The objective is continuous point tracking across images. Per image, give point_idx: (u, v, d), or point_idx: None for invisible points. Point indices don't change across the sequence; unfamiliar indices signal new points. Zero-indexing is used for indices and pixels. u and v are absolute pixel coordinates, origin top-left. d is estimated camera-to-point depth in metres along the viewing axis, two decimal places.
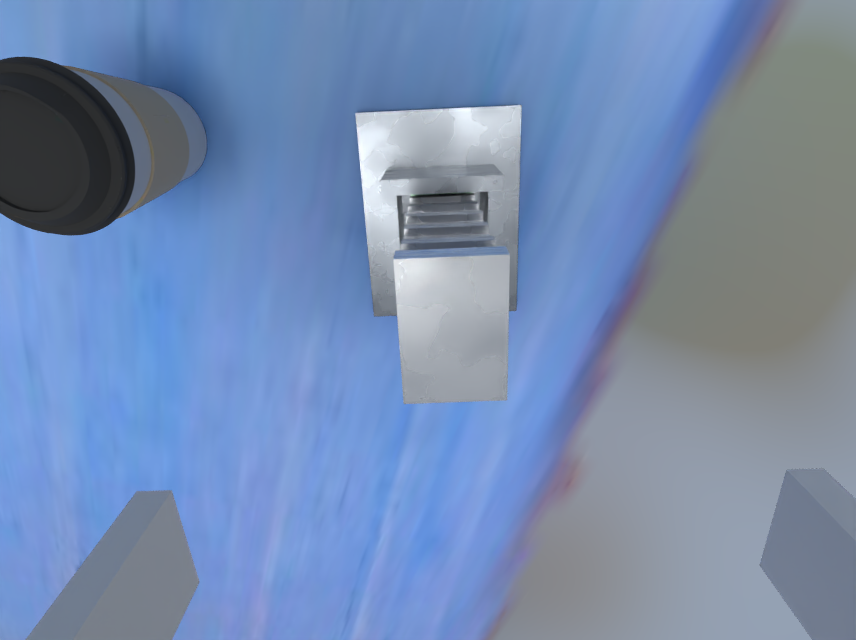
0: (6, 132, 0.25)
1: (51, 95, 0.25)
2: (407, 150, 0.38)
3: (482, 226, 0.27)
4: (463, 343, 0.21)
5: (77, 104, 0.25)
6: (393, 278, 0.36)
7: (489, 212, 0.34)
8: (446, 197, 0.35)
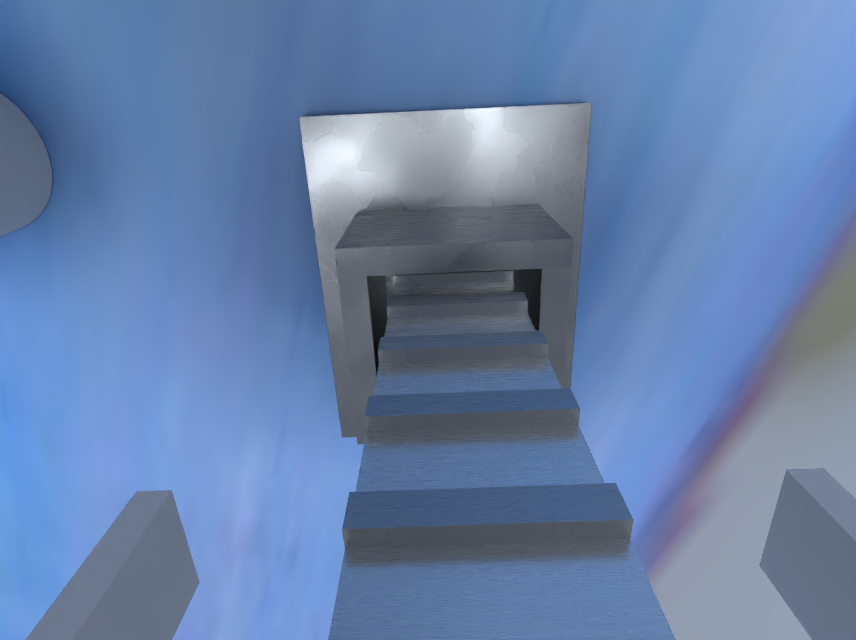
0: None
1: None
2: (391, 181, 0.22)
3: (563, 410, 0.11)
4: None
5: None
6: (364, 416, 0.20)
7: (542, 306, 0.18)
8: (461, 274, 0.19)
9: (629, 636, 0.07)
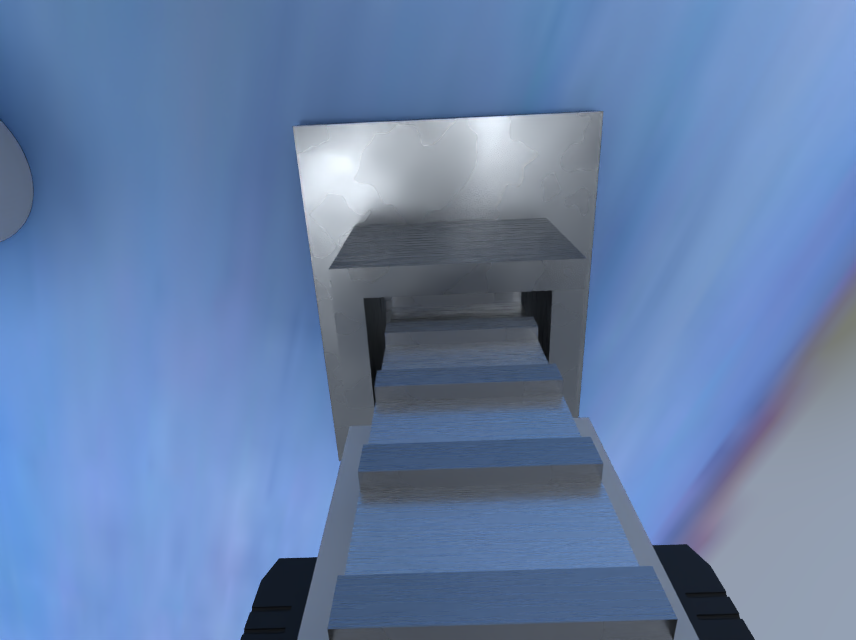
0: None
1: None
2: (390, 194, 0.21)
3: (584, 465, 0.09)
4: None
5: None
6: None
7: (553, 330, 0.17)
8: (464, 295, 0.18)
9: None
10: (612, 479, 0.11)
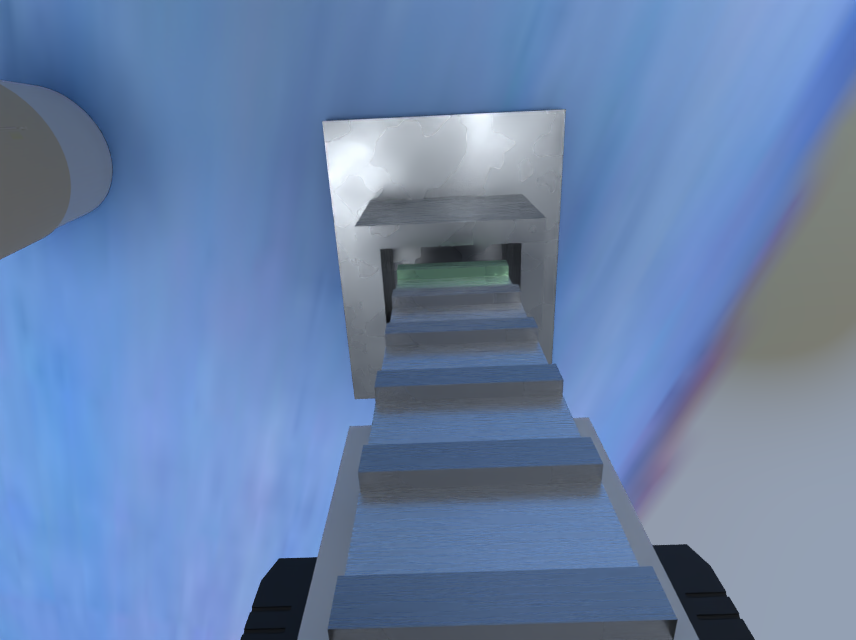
0: None
1: None
2: (398, 175, 0.27)
3: (584, 466, 0.09)
4: None
5: None
6: (377, 367, 0.24)
7: (522, 273, 0.22)
8: (464, 296, 0.18)
9: None
10: (612, 479, 0.11)
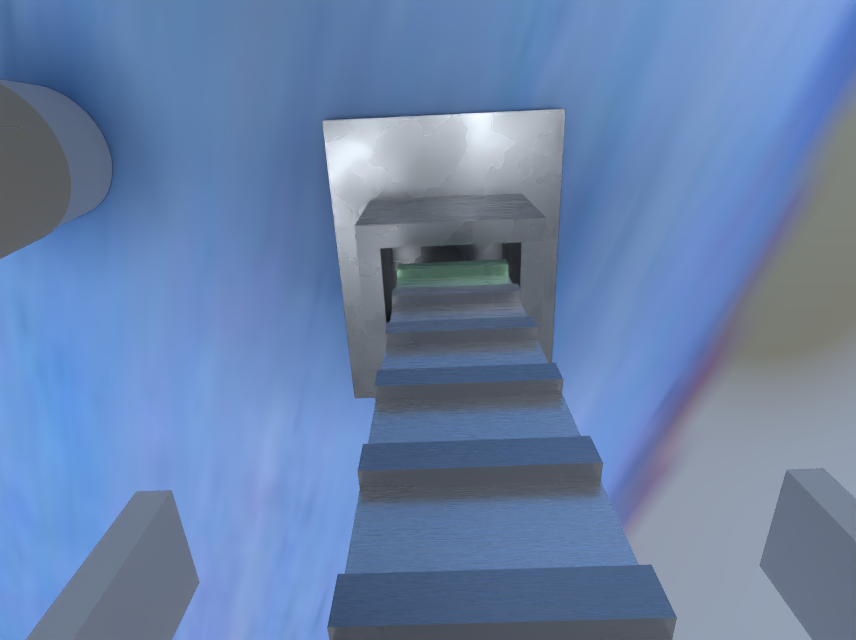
0: None
1: None
2: (398, 174, 0.27)
3: (584, 464, 0.09)
4: None
5: None
6: (377, 367, 0.24)
7: (522, 273, 0.22)
8: (464, 295, 0.18)
9: None
10: None
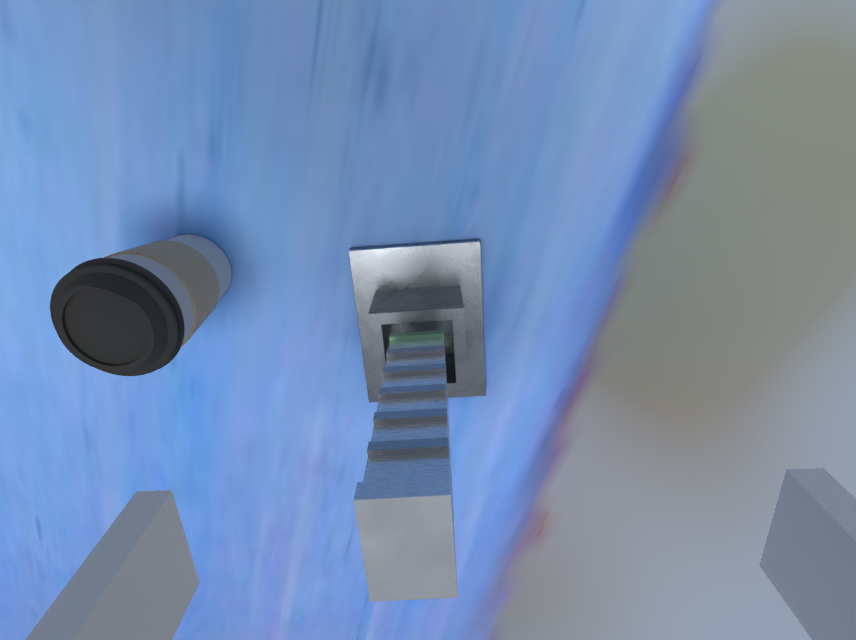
0: (95, 313, 0.35)
1: (127, 289, 0.35)
2: (391, 277, 0.48)
3: (441, 416, 0.30)
4: (416, 557, 0.25)
5: (145, 292, 0.35)
6: (381, 384, 0.45)
7: (454, 334, 0.44)
8: (419, 352, 0.39)
9: (438, 471, 0.26)
10: None
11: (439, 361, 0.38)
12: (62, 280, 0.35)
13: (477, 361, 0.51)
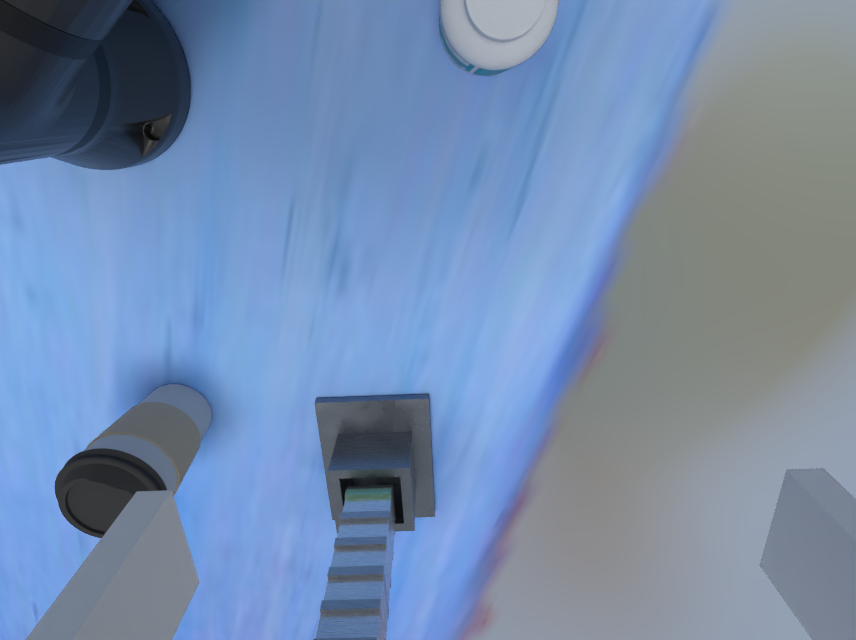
0: (93, 496, 0.42)
1: (121, 480, 0.42)
2: (351, 423, 0.55)
3: (375, 608, 0.38)
4: None
5: (135, 479, 0.42)
6: (339, 523, 0.53)
7: (401, 487, 0.51)
8: (367, 518, 0.46)
9: None
10: None
11: (383, 529, 0.45)
12: (65, 468, 0.42)
13: (427, 490, 0.59)
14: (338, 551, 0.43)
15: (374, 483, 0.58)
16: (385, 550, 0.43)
